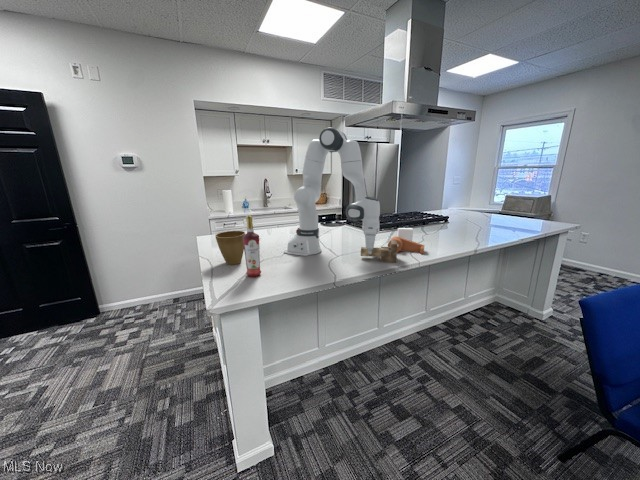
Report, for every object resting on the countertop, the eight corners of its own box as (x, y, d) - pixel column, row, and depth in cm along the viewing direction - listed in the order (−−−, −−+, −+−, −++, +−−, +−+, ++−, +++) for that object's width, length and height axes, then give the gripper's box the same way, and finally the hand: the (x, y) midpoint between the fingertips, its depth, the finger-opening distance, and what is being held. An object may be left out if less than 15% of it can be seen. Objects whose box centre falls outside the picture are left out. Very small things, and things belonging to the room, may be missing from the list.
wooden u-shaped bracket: (380, 261, 139) (381, 243, 136) (380, 256, 146) (381, 239, 144) (396, 262, 137) (397, 244, 135) (395, 257, 145) (396, 240, 142)
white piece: (398, 249, 160) (399, 230, 157) (395, 245, 169) (396, 227, 166) (413, 249, 159) (414, 230, 156) (409, 245, 168) (411, 227, 165)
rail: (360, 255, 143) (360, 248, 142) (361, 253, 146) (361, 247, 145) (389, 257, 140) (389, 250, 139) (388, 255, 143) (389, 248, 142)
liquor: (247, 279, 119) (241, 218, 111) (244, 273, 125) (239, 215, 118) (263, 276, 121) (258, 216, 114) (260, 271, 128) (255, 214, 121)
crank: (387, 251, 156) (388, 239, 154) (389, 248, 163) (390, 235, 161) (423, 255, 148) (424, 242, 146) (423, 251, 155) (425, 238, 153)
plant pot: (239, 256, 151) (236, 229, 147) (253, 262, 140) (250, 233, 136) (213, 262, 141) (210, 233, 137) (226, 269, 130) (223, 238, 126)
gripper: (365, 223, 150) (365, 247, 154) (363, 231, 131) (363, 258, 134) (377, 224, 149) (376, 247, 152) (376, 232, 129) (375, 258, 133)
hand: (370, 252), depth 143 cm, fingers closed on rail, 3 cm apart
